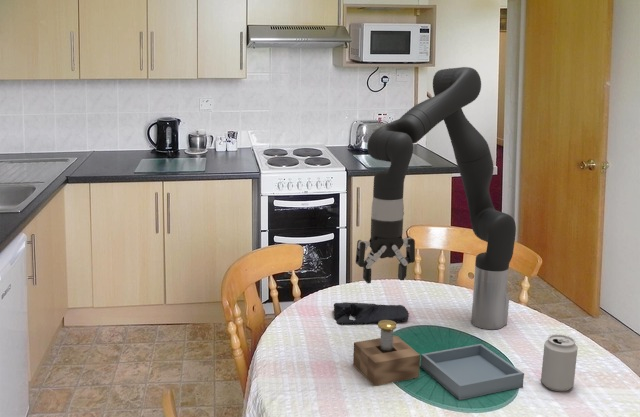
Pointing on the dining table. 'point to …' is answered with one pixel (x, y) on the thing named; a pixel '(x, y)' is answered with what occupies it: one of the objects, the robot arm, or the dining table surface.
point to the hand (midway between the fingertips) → (384, 280)
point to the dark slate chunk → (368, 313)
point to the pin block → (386, 361)
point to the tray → (471, 371)
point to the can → (559, 362)
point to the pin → (386, 335)
